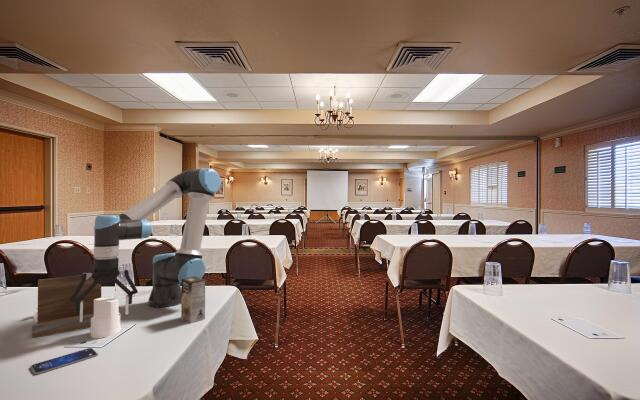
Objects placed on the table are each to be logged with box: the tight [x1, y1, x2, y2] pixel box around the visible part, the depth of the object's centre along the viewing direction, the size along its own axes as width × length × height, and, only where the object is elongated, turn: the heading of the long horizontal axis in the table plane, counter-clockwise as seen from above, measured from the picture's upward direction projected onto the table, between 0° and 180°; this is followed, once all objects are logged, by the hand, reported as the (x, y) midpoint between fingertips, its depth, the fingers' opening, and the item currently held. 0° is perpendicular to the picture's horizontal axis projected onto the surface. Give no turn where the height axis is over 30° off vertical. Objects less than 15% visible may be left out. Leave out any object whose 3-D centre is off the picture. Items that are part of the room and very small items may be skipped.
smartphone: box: [29, 347, 99, 376], centre depth 94 cm, size 7×1×15 cm
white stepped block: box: [90, 297, 122, 339], centre depth 115 cm, size 9×9×12 cm
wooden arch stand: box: [31, 274, 102, 339], centre depth 122 cm, size 14×20×18 cm
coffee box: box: [180, 276, 206, 324], centre depth 129 cm, size 9×6×16 cm
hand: (104, 317), depth 114 cm, fingers open, 13 cm apart
